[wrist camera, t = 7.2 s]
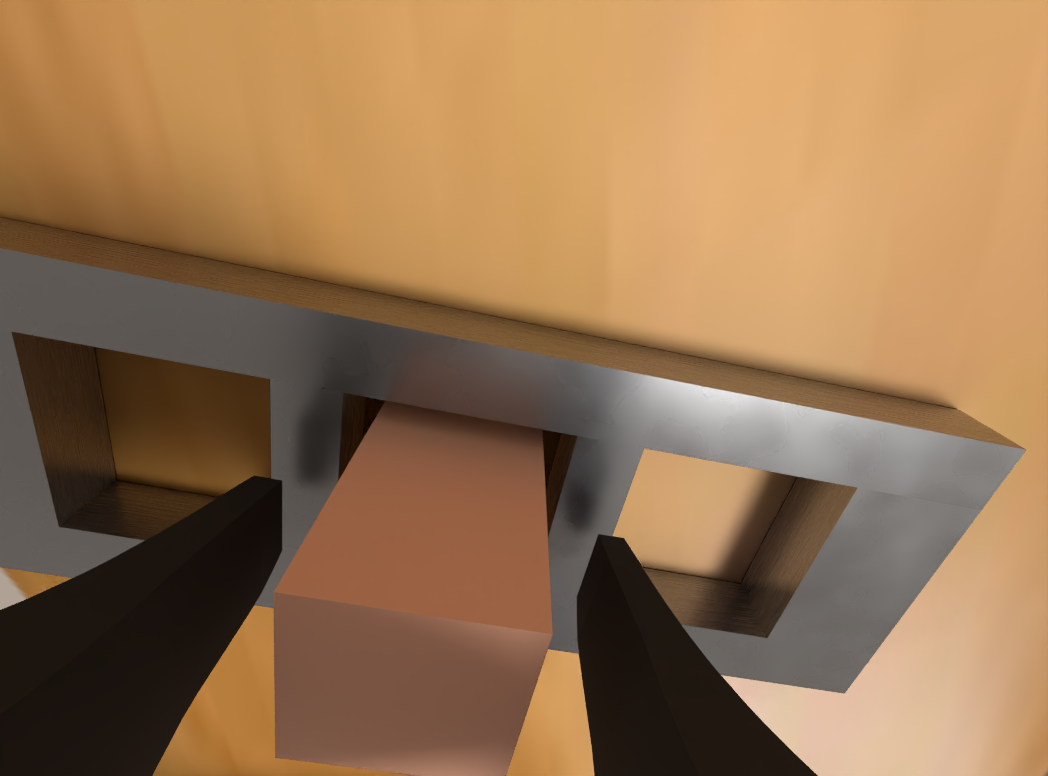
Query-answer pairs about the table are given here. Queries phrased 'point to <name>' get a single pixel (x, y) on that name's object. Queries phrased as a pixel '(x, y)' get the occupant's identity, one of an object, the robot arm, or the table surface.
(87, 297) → the grey slotted board
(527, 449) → the peg
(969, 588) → the table surface
